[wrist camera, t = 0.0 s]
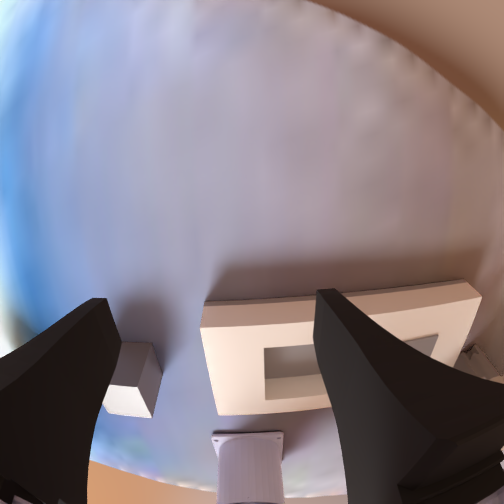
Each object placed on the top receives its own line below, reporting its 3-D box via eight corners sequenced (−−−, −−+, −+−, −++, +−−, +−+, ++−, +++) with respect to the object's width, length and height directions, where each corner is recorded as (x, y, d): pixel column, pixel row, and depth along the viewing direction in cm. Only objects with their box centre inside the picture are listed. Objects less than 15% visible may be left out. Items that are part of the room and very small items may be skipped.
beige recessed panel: (434, 361, 26) (446, 382, 23) (220, 389, 26) (218, 417, 23) (463, 278, 22) (483, 297, 19) (204, 301, 22) (199, 329, 19)
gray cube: (162, 374, 25) (152, 418, 20) (123, 372, 25) (108, 413, 20) (151, 342, 23) (137, 387, 19) (109, 340, 23) (90, 382, 19)
